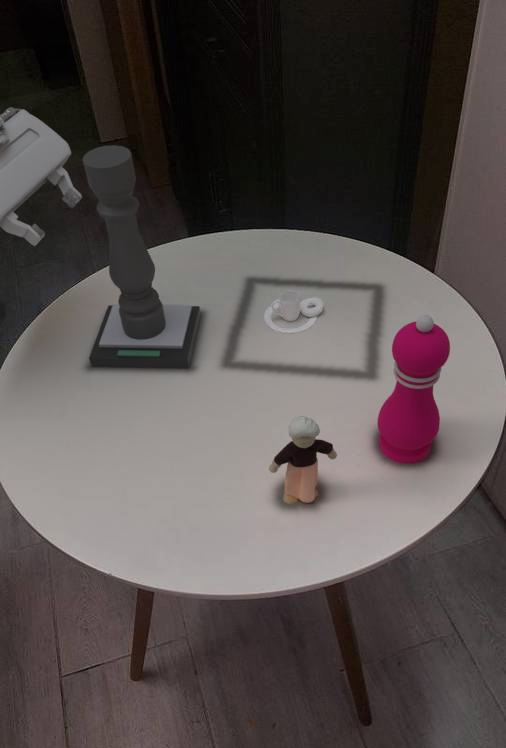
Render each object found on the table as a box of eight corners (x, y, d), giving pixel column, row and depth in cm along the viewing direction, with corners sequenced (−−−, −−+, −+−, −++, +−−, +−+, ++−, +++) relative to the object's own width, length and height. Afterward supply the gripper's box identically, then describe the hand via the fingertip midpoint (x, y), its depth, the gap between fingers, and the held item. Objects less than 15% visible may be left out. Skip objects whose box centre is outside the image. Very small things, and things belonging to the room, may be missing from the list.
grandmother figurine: (282, 518, 78) (278, 445, 69) (268, 494, 81) (263, 420, 71) (341, 494, 80) (345, 419, 71) (325, 471, 83) (328, 396, 73)
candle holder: (134, 345, 96) (93, 174, 77) (116, 323, 100) (72, 154, 81) (173, 328, 98) (142, 158, 79) (153, 307, 101) (119, 139, 83)
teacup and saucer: (325, 304, 104) (325, 281, 101) (319, 337, 99) (319, 315, 96) (268, 300, 105) (267, 278, 102) (259, 333, 100) (258, 311, 97)
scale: (92, 369, 97) (87, 354, 95) (111, 316, 105) (107, 301, 103) (189, 371, 96) (186, 356, 94) (201, 317, 104) (198, 302, 102)
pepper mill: (362, 447, 85) (375, 317, 70) (400, 416, 88) (419, 286, 73) (408, 478, 81) (432, 349, 66) (446, 446, 84) (477, 315, 69)
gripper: (7, 118, 92) (87, 195, 97) (-91, 192, 80) (7, 276, 85) (25, 86, 88) (108, 168, 93) (-75, 160, 75) (27, 250, 80)
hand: (59, 220), depth 89 cm, fingers open, 8 cm apart
